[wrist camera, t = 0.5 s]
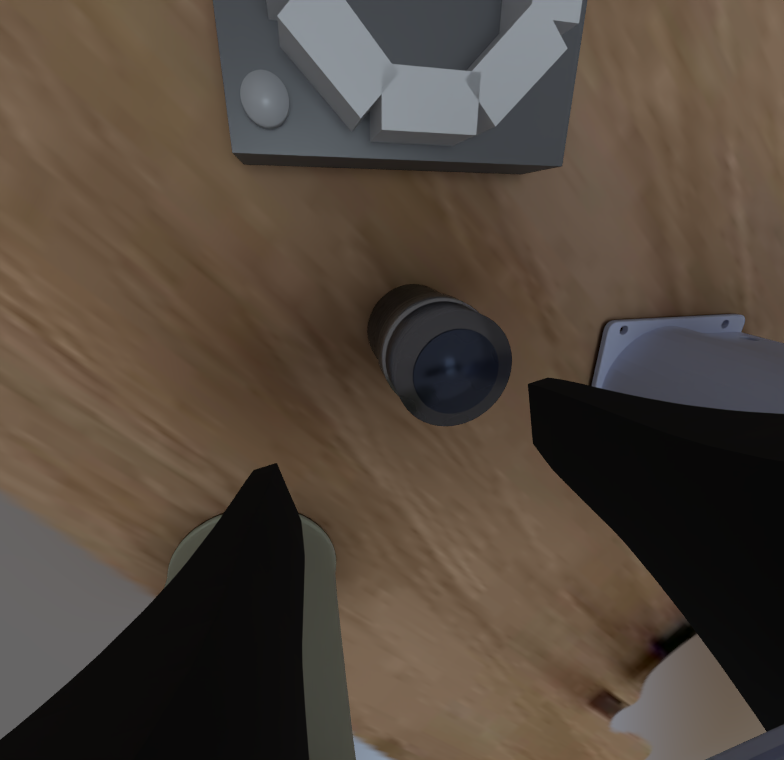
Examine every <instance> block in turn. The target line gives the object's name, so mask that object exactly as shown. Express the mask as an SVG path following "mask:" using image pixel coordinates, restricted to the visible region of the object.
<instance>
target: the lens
mask: <svg viewBox="0 0 784 760" xmlns="http://www.w3.org/2000/svg"><path fill="white" fill-rule="evenodd" d="M367 332H368V340H369V344H370V346H371V349H372V351H373V352H374V354H375V356H376V358H377V359H378V362H379V365H380V368H381V371H382V372H383V374H384V376H385V378H386V380H387V381H388V383H389V385H390V387H391V388H392V389H393V391H394V392H395V393H396V394H397V395H398V396H399V397H400V399H401V401H402V402H403V404H404V406H405V407H406V408H407V410H408V411H409V412H410V413H411V414H412V415H414V416H415V417H416V418H418V419H420V420H421V421H423V422H426V423H429V424H432V425H437V426H454V425H459V424H463V423H466V422H468V421H471V420H473V419H475V418H477V417H479V416H480V415H481V414H483V413H484V412H486V411H487V410H488V409H489V408H490V407H491V406H492V405H493V404H494V403H495V402H496V401H497V400H498V398H499V397H500V396H501V394H502V392H503V391H504V389H505V387H506V385H507V382H508V379H509V376H510V372H511V366H512V355H511V349H510V345H509V342H508V339H507V337H506V335H505V334H504V332H503V331H502V329H501V328H500V327H499V326H498V325H497V324H496V323H495V322H494V321H492V320H491V319H489V318H488V317H486V316H484V315H482V314H480V313H479V312H478V311H477V310H476V309H474V308H473V307H471V306H470V305H468V304H466V303H464V302H462V301H460V300H458V299H456V298H454V297H452V296H449V295H446V294H441V293H439V292H437V291H435V290H433V289H431V288H429V287H426V286H423V285H417V284H410V285H404V286H400V287H397V288H395V289H393V290H391V291H389V292H388V293H387V294H385V295H384V296H383V297H382V298H381V299H380V300H379V301H378V302H377V304H376V305H375V307H374V308H373V310H372V313H371V315H370V318H369V322H368V331H367Z"/></svg>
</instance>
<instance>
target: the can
mask: <svg viewBox="0 0 784 760" xmlns="http://www.w3.org/2000/svg"><path fill="white" fill-rule="evenodd" d="M222 515H223V514H222ZM222 515H219V516H216V517H214V518H212V519H210V520H208V521H206V522H205V523H203V524H201V525H200V526H198V527H197V528H195V529H194V530H193V531H192V532H191V533H189V534H188V535H187V536H186V537H185V538H184V539H183V541H182V542H181V543H180V544H179V546H178V547H177V549H176V550H175V552H174V554H173V556H172V558H171V561H170V564H169V568H168V575H167V581H166V584H165V587H166V586H167V585H168V584H169V583H170V581H171V580H172V579H173V578H174V577H175V576H176V574H177V573H178V572H179V571H180V570H181V569H182V567H183V566H184V565H185V564H186V563H187V561H188V560H189V559H190V557H191V556H192V555H193V554H194V552H195V551H196V550H197V548H198V547H199V546H200V544H201V543H202V542H203V541H204V539H205V538H206V537H207V535H208V534H209V533H210V531H211V530H212V529H213V528H214V526H215V525H216V523H217V522H218V521H219V519H220V518H221V516H222ZM299 516H300V519H301V522H302V531H303V540H304V551H305V574H304V607H303V638H302V663H303V680H304V696H305V712H306V724H307V737H308V750H309V760H356V757H355V750H354V742H353V734H352V725H351V717H350V708H349V699H348V691H347V682H346V673H345V664H344V656H343V647H342V638H341V629H340V620H339V610H338V600H337V590H336V577H335V571H336V555H335V550H334V547H333V544H332V542H331V541H330V539H329V537H328V536H327V534H326V533H325V532H324V531H323V529H322V528H320V527H319V526H318V525H317V524H316V523H314V522H313V521H311V520H310V519H308V518H306V517H305V516H303V515H300V514H299Z"/></svg>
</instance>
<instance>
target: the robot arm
mask: <svg viewBox="0 0 784 760" xmlns="http://www.w3.org/2000/svg"><path fill="white" fill-rule="evenodd" d="M744 323H745V317H744V316H743V315H739V314H721V315H702V316H683V317H664V318H645V319H626V320H612V321H610V322H608V323H607V324H606V326H605V328H604V331H603V335H602V340H601V345H600V349H599V354H598V358H597V363H596V367H595V372H594V376H593V381H592V386H589V385H584V384H580V383H575V382H571V381H566V380H560V379H554V378H545V379H542V380H539V381H536V382H533V383H529V384H528V391H529V402H530V414H531V426H532V437H533V444H534V446H535V447H536V448H537V450H538V451H539V452H540V454H541V455H542V456H543V458H544V459H545V460H546V462H547V463H548V464H549V466H550V467H551V468H552V469H553V471H554V472H555V473H556V474H557V475H558V476H559V477H560V478H561V479H562V480H563V481H564V482H565V483H566V484H567V485H568V486H569V487H570V488H571V489H572V490H573V491H574V492H575V493H576V494H577V495H578V496H579V497H580V498H581V499H582V500H583V501H584V502H585V503H586V504H587V505H588V506H589V507H590V508H591V509H592V510H593V511H594V512H595V513H596V514H597V515H598V516H599V517H600V518H601V519H602V520H603V521H604V522H605V523H606V524H607V525H608V526H609V527H610V528H611V529H613V531H614V532H615V533H616V534H617V535H618V536H619V537H620V538H621V539H622V540H623V541H624V542H625V543H626V545H627V546H628V547H629V548H630V549H631V551H632V552H633V553H634V554H635V555H636V557H637V558H638V559H639V560H640V561H641V563H642V564H643V565H644V566H645V567H646V569H647V570H648V571H649V572H650V573H651V575H652V576H653V577H654V578H655V580H656V581H657V582H658V583H659V585H660V586H661V587H662V588H663V590H664V591H665V592H666V594H667V595H668V596H669V597H670V599H671V600H672V601H673V602H674V604H675V605H676V606H677V608H678V609H679V610H680V611H681V613H682V614H683V615H684V616H685V618H686V619H687V621H688V622H689V623H690V625H691V626H692V627H693V629H694V630H695V631H696V633H697V634H698V635H699V637H700V638H701V639H702V641H703V642H704V643H705V645H706V646H707V647H708V649H709V650H710V651H711V653H712V654H713V655H714V657H715V658H716V659H717V661H718V662H719V664H720V665H721V666H722V668H723V669H724V670H725V672H726V674H727V675H728V676H729V678H730V679H731V680H732V682H733V683H734V685H735V686H736V688H737V689H738V691H739V692H740V694H741V695H742V696H743V698H744V699H745V701H746V702H747V703H748V705H749V706H750V708H751V709H752V711H753V712H754V714H756V716H757V718H758V719H759V721H760V722H761V724H762V725H763V727H764V728H765V730H766V731H767V732H766V733H763V734H761V735H759V736H757V737H754V738H752V739H750V740H748V741H746V742H743V743H741V744H739V745H737V746H735V747H732V748H730V749H728V750H726V751H723V752H721V753H720V754H717V755H715V756H712V757H710V758H708V759H706V760H784V343H781V342H777V341H773V340H769V339H765V338H761V337H757V336H754V335H750V334H746V333H742V329H743V326H744ZM622 326H623V328H622V331H620V329H621V327H622ZM304 574H305V551H304V540H303V531H302V522H301V519H300V516H299V514H298V512H297V509H296V507H295V505H294V502H293V500H292V498H291V495H290V493H289V491H288V488H287V486H286V484H285V481H284V479H283V477H282V474H281V472H280V470H279V467H278V465H277V463H275V464H272V465H269V466H266V467H262V468H259V469H256V470H254V471H253V472H252V473H251V474H250V476H249V477H248V479H247V480H246V481H245V483H244V484H243V486H242V487H241V489H240V490H239V492H238V493H237V495H236V496H235V498H234V499H233V501H232V502H231V503H230V505H229V506H228V508H227V509H226V511H225V512H224V513H223V515H222V516H221V518H220V519H219V521H218V522H217V523H216V525H215V526H214V528H213V529H212V530H211V531H210V533H209V534H208V535H207V537H206V538H205V539H204V541H203V542H202V543H201V544H200V546H199V547H198V548H197V550H196V551H195V552H194V554H193V555H192V556H191V557H190V559H189V560H188V561H187V563H186V564H185V565H184V566H183V567H182V569H181V570H180V571H179V572H178V573H177V574H176V576H175V577H174V578H173V579H172V580H171V581H170V583H169V584H168V585H167V586H166V587H165V588H164V589H163V590H162V591H161V592H160V594H159V595H158V596H157V597H156V598H155V599H154V600H153V601H152V602H151V603H150V604H149V606H148V607H147V608H146V609H145V610H144V611H143V612H142V613H141V614H140V615H139V616H138V617H137V618H136V619H135V620H134V621H133V622H132V623H131V624H130V625H129V626H128V627H127V628H126V629H125V630H124V631H123V632H122V633H121V634H119V635H118V637H116V639H114V641H112V642H111V643H110V644H109V645H108V646H107V647H106V648H105V649H104V650H103V651H102V652H101V653H100V654H99V655H98V656H97V657H96V658H95V659H94V660H93V661H92V662H90V663H89V664H88V665H87V666H86V667H85V668H84V669H83V670H82V671H80V672H79V673H78V674H77V675H76V676H75V677H74V678H73V679H72V680H71V681H69V682H68V683H67V684H66V685H65V686H64V687H63V688H61V689H60V690H59V691H58V692H57V693H56V694H54V695H53V696H52V697H51V698H50V699H49V700H48V701H47V702H45V703H44V704H43V705H42V706H41V707H39V708H38V709H37V710H36V711H35V712H34V713H32V714H31V715H30V716H29V717H28V718H26V719H25V720H24V721H23V722H22V723H20V724H19V725H18V726H17V727H16V728H14V729H13V730H12V731H11V732H9V733H8V734H7V735H6V736H4V737H3V738H2V739H1V740H0V760H309V750H308V737H307V724H306V712H305V696H304V680H303V663H302V638H303V607H304Z"/></svg>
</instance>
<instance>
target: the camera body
mask: <svg viewBox="0 0 784 760" xmlns="http://www.w3.org/2000/svg"><path fill="white" fill-rule="evenodd" d="M213 5H214V13H215V21H216V29H217V36H218V44H219V52H220V60H221V68H222V75H223V83H224V91H225V99H226V107H227V114H228V122H229V130H230V138H231V145H232V153H233V154H234V155H235V156H236V157H237V158H238V159H239V160H240V161H241V162H242V163H243V164H249V165H277V166H305V167H333V168H361V169H389V170H417V171H445V172H473V173H501V174H525V173H530V172H535V171H541V170H546V169H551V168H556V167H561V166H562V163H563V156H564V150H565V143H566V137H567V130H568V123H569V117H570V110H571V104H572V97H573V91H574V84H575V78H576V71H577V65H578V58H579V51H580V45H581V38H582V32H583V25H584V19H585V12H586V6H587V0H213Z"/></svg>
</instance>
